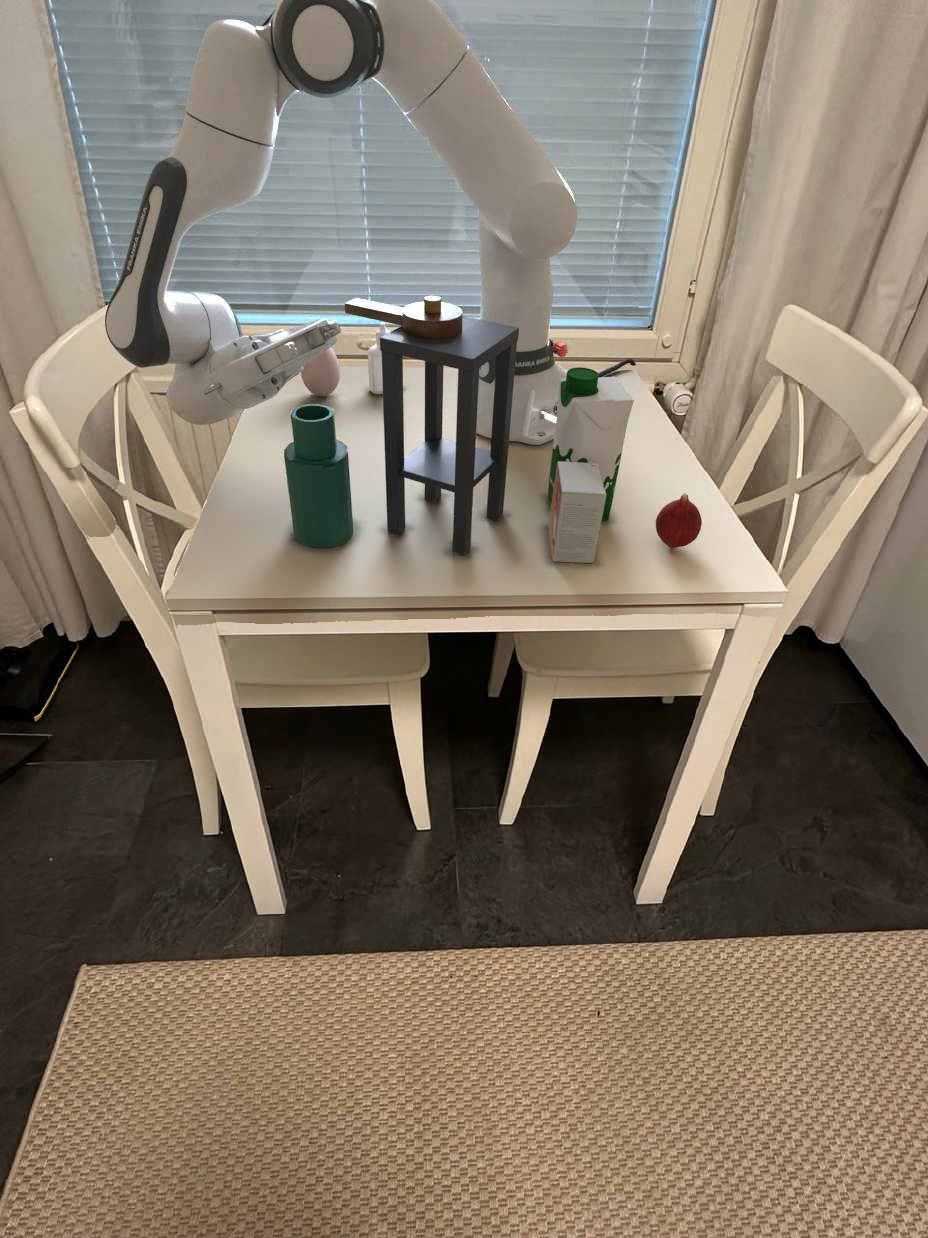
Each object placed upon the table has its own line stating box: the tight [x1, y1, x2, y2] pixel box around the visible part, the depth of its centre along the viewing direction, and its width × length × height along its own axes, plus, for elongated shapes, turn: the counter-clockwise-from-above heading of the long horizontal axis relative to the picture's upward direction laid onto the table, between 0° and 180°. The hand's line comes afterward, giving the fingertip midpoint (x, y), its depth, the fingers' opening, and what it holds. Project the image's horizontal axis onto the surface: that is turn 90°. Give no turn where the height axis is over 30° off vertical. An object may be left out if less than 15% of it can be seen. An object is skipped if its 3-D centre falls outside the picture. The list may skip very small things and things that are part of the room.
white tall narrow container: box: [367, 322, 391, 395], centre depth 135 cm, size 4×6×12 cm
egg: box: [300, 347, 341, 398], centre depth 132 cm, size 7×7×10 cm
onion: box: [655, 492, 703, 549], centre depth 99 cm, size 6×6×8 cm
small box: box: [547, 461, 606, 564], centre depth 98 cm, size 8×6×10 cm
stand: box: [380, 315, 519, 557], centre depth 96 cm, size 12×12×26 cm
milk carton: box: [547, 367, 635, 521], centre depth 102 cm, size 9×9×20 cm
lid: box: [344, 295, 464, 339], centre depth 89 cm, size 15×7×3 cm, turn 62°
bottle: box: [283, 403, 354, 549], centre depth 96 cm, size 8×8×17 cm
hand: (314, 337), depth 98 cm, fingers open, 8 cm apart
